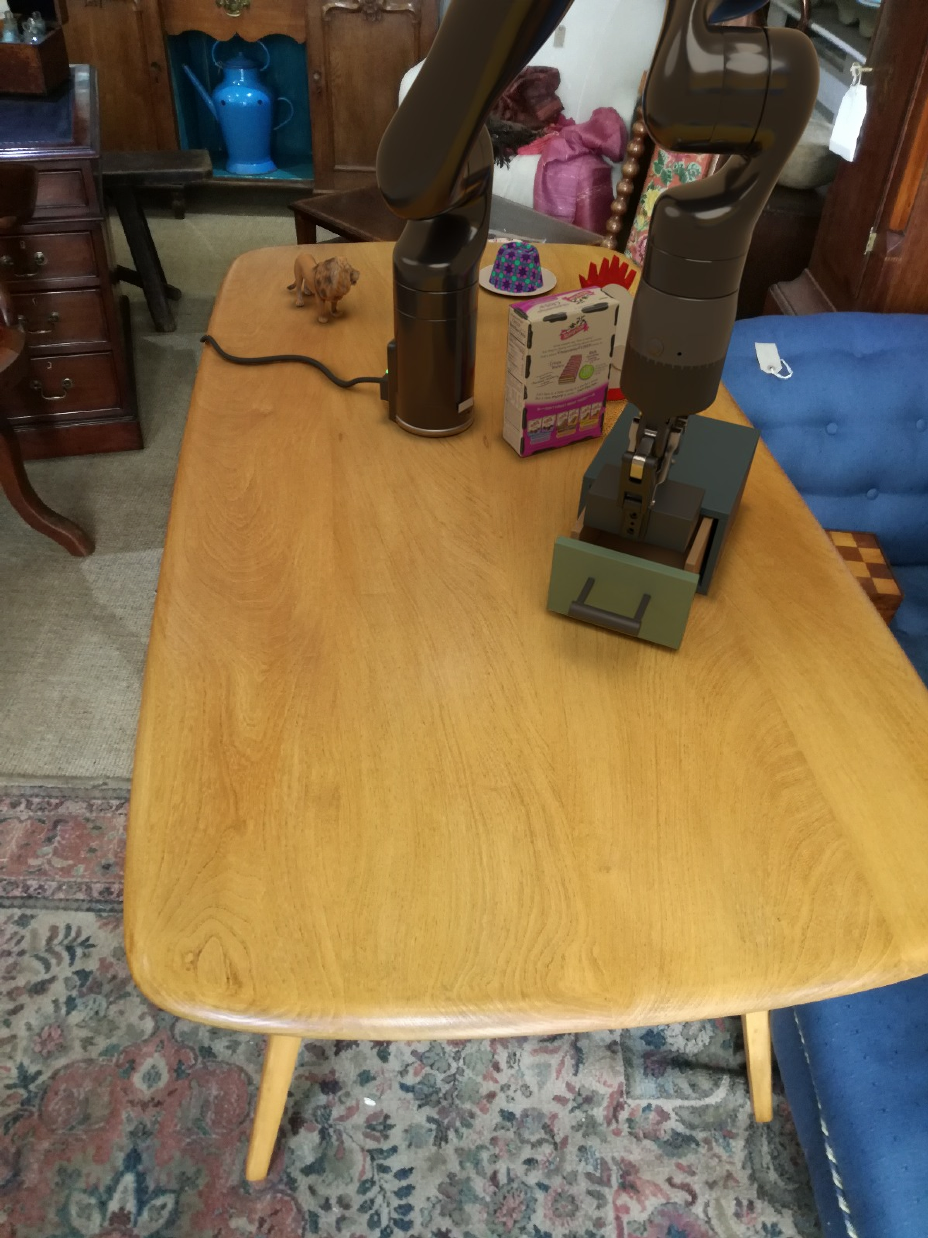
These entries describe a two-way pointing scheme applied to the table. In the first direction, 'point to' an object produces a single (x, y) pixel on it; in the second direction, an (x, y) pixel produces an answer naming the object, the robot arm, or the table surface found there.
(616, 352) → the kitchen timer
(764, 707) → the table surface
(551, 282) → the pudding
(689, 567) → the drawer
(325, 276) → the lion figurine
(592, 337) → the candy bar box
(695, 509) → the matte charcoal brick
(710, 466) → the cabinet
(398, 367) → the robot arm
